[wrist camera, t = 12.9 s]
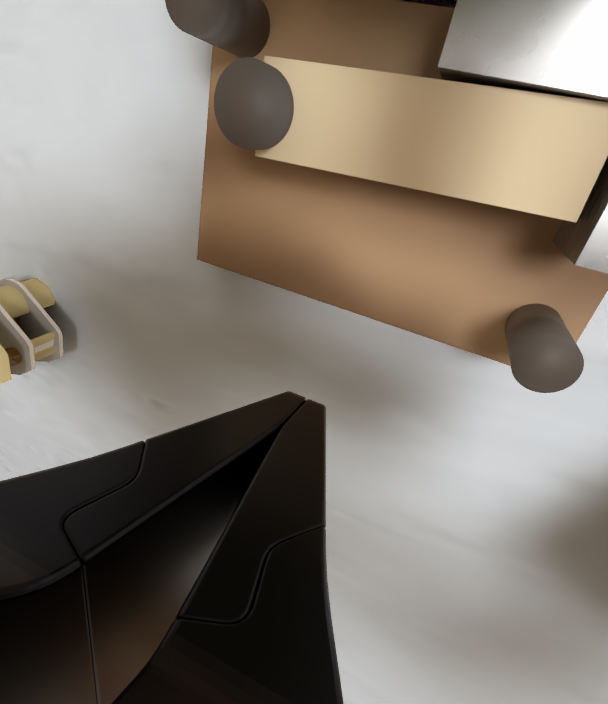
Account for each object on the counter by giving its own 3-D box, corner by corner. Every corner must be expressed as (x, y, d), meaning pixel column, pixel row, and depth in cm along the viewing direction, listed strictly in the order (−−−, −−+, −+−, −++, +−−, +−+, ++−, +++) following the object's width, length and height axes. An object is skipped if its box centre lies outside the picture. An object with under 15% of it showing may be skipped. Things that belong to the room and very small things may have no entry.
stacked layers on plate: (43, 383, 33) (-30, 420, 28) (-22, 280, 30) (-112, 301, 26) (121, 355, 28) (49, 393, 23) (51, 230, 26) (-44, 244, 21)
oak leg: (267, 152, 17) (211, 148, 13) (276, 72, 16) (216, 44, 12) (555, 211, 14) (582, 226, 10) (596, 119, 13) (642, 101, 9)
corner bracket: (587, 251, 14) (622, 277, 11) (411, 204, 16) (393, 215, 12) (701, 43, 11) (797, -9, 8) (472, 10, 13) (470, -46, 9)
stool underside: (547, 364, 18) (570, 427, 13) (213, 253, 22) (149, 275, 17) (723, 62, 12) (852, 8, 8) (238, -11, 16) (154, -73, 12)
